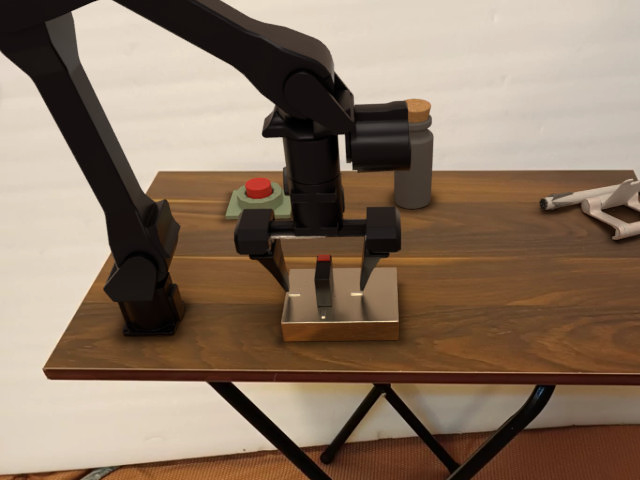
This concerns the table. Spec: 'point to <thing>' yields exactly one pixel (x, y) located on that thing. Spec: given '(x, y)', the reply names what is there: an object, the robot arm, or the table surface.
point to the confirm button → (258, 188)
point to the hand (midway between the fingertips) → (324, 289)
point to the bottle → (416, 159)
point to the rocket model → (574, 197)
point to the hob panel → (342, 307)
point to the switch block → (260, 203)
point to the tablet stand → (620, 196)
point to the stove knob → (324, 280)
